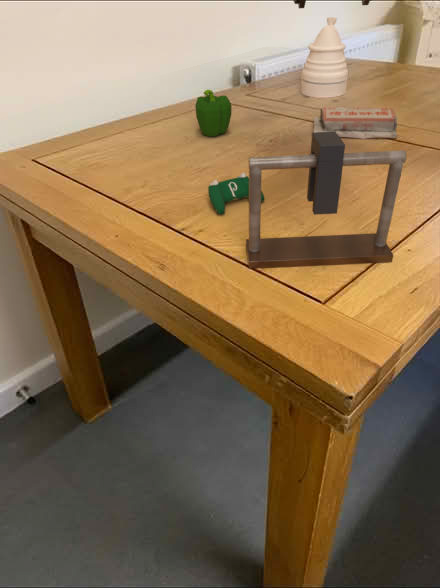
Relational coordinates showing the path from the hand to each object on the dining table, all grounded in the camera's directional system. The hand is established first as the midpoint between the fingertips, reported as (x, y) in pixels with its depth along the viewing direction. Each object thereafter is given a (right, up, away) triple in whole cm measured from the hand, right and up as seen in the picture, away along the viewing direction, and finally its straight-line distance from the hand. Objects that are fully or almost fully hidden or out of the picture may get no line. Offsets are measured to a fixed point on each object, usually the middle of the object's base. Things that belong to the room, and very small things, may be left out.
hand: (335, 2), depth 61 cm
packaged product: (+15, -1, +46) cm, 48 cm away
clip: (-2, -27, +1) cm, 27 cm away
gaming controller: (-13, -23, +20) cm, 33 cm away
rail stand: (-1, -33, +6) cm, 33 cm away
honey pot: (+14, +20, +72) cm, 76 cm away
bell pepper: (-17, -1, +48) cm, 51 cm away
